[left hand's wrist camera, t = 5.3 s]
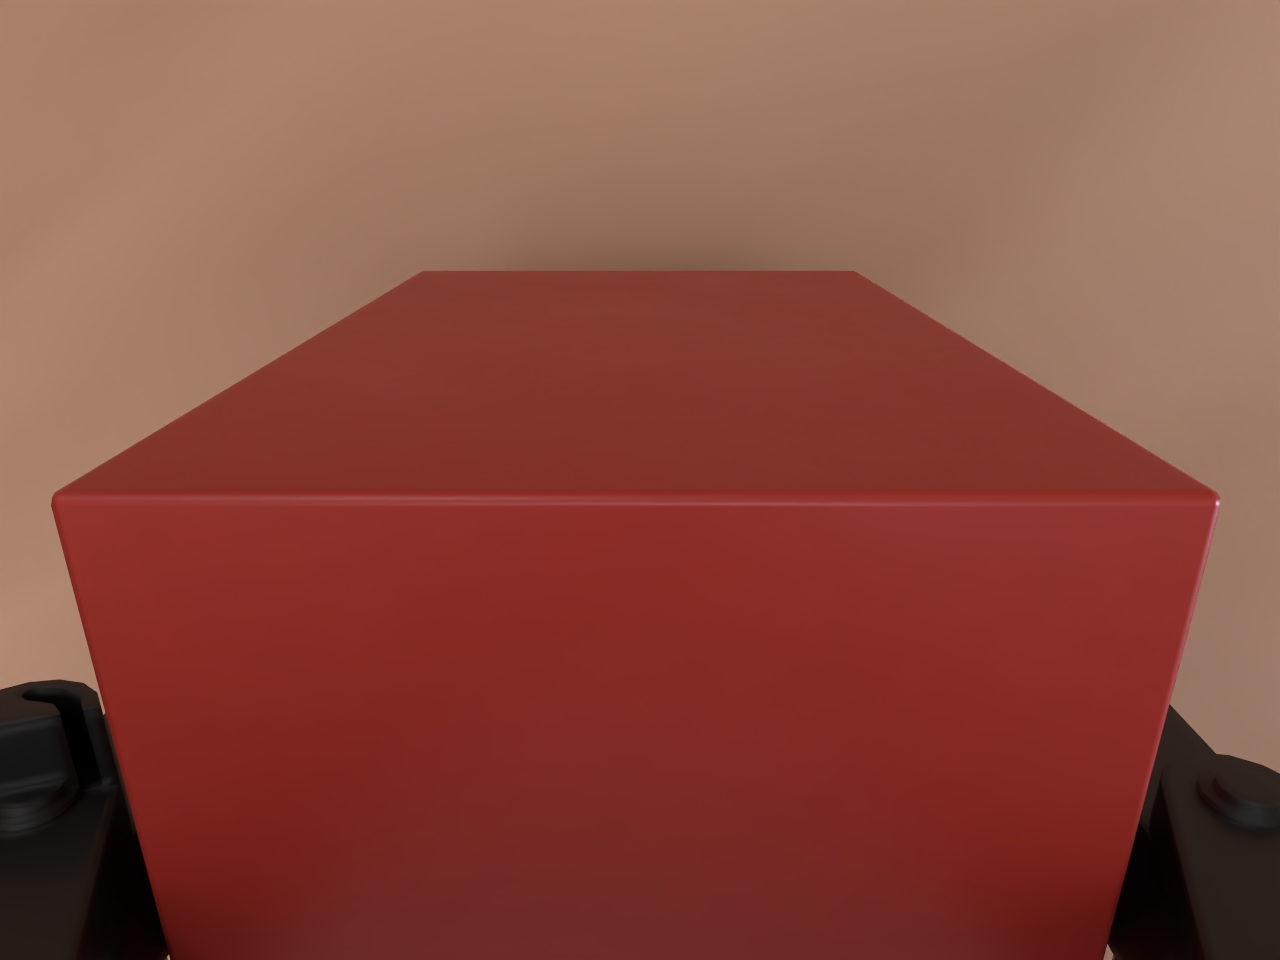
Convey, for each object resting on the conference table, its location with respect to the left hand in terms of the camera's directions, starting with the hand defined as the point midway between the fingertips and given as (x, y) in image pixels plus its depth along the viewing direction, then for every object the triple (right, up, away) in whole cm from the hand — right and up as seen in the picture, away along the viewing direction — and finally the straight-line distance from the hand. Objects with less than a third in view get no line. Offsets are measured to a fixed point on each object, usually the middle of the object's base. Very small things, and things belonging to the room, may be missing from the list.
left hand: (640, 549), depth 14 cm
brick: (0, +1, +2) cm, 2 cm away
